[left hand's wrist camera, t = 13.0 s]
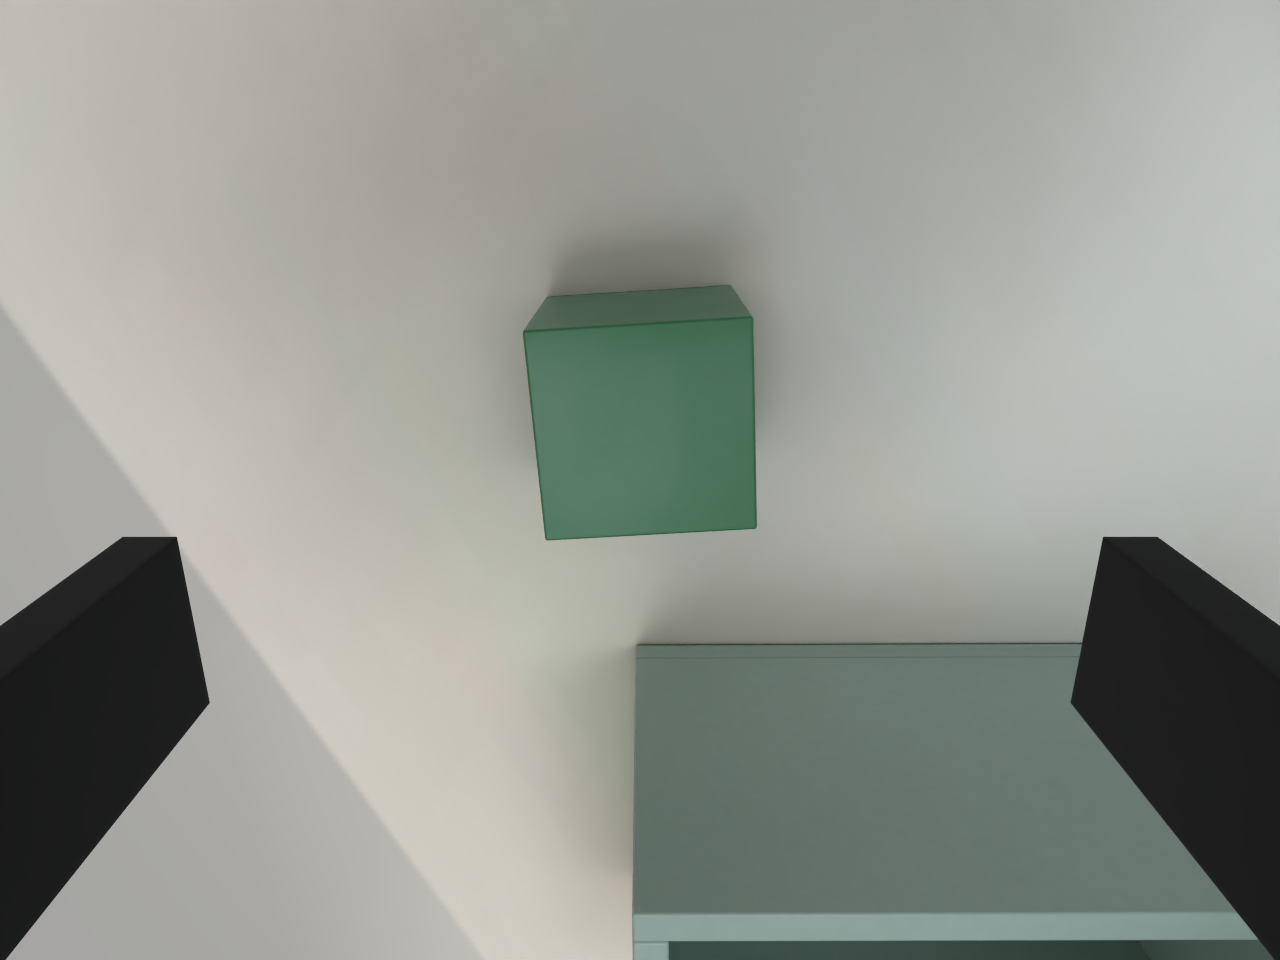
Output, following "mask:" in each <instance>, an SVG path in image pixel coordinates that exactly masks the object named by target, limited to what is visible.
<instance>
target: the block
mask: <svg viewBox="0 0 1280 960" xmlns="http://www.w3.org/2000/svg"><path fill="white" fill-rule="evenodd" d="M523 339H524V348H525V357H526V366H527V375H528V384H529V394H530V403H531V412H532V421H533V430H534V439H535V448H536V458H537V467H538V476H539V485H540V494H541V503H542V513H543V522H544V531H545V539H546V540H562V539H580V538H598V537H616V536H634V535H651V534H669V533H687V532H705V531H723V530H741V529H755V528H756V527H757V509H756V453H755V398H754V342H753V317H752V316H751V314H750V313H749V311H748V310H747V308H746V307H745V306H744V304H743V303H742V301H741V300H740V298H739V297H738V295H737V294H736V292H735V291H734V290H733V288H732V287H731V286H730V285H727V286H711V287H695V288H679V289H663V290H647V291H631V292H615V293H600V294H584V295H568V296H552V297H547V298H546V299H545V301H544V302H543V304H542V305H541V306H540V308H539V309H538V311H537V312H536V314H535V315H534V317H533V318H532V319H531V321H530V322H529V324H528V325H527V327H526V328H525V329H524V331H523Z"/></svg>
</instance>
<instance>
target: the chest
mask: <svg viewBox="0 0 1280 960" xmlns="http://www.w3.org/2000/svg"><path fill="white" fill-rule="evenodd" d="M1081 647H1082V644H921V645H642V646H636V661H635V741H634V821H633V901H632V930H633V960H1274V959H1273V957H1272V956H1271V955H1270V953H1269V952H1268V951H1267V950H1266V948H1265V947H1264V946H1263V945H1262V943H1261V942H1260V941H1259V940H1258V938H1257V937H1256V936H1255V935H1254V933H1253V932H1252V931H1251V930H1250V928H1249V927H1248V926H1247V925H1246V923H1245V922H1244V921H1243V919H1242V918H1241V917H1240V916H1239V914H1238V913H1237V912H1236V911H1235V909H1234V908H1233V907H1232V906H1231V904H1230V903H1229V902H1228V901H1227V899H1226V898H1225V897H1224V896H1223V894H1222V893H1221V892H1220V891H1219V889H1218V888H1217V887H1216V885H1215V884H1214V883H1213V882H1212V880H1211V879H1210V878H1209V877H1208V875H1207V874H1206V873H1205V872H1204V870H1203V869H1202V868H1201V867H1200V865H1199V864H1198V863H1197V862H1196V860H1195V859H1194V858H1193V857H1192V855H1191V854H1190V853H1189V851H1188V850H1187V849H1186V848H1185V846H1184V845H1183V844H1182V843H1181V841H1180V840H1179V839H1178V838H1177V836H1176V835H1175V834H1174V833H1173V831H1172V830H1171V829H1170V828H1169V826H1168V825H1167V824H1166V823H1165V821H1164V820H1163V819H1162V818H1161V816H1160V815H1159V814H1158V812H1157V811H1156V810H1155V809H1154V807H1153V806H1152V805H1151V804H1150V802H1149V801H1148V800H1147V799H1146V797H1145V796H1144V795H1143V794H1142V792H1141V791H1140V790H1139V789H1138V787H1137V786H1136V785H1135V784H1134V782H1133V781H1132V780H1131V778H1130V777H1129V776H1128V775H1127V773H1126V772H1125V771H1124V770H1123V768H1122V767H1121V766H1120V765H1119V763H1118V762H1117V761H1116V760H1115V758H1114V757H1113V756H1112V755H1111V753H1110V752H1109V751H1108V750H1107V748H1106V747H1105V746H1104V744H1103V743H1102V742H1101V741H1100V739H1099V738H1098V737H1097V736H1096V734H1095V733H1094V732H1093V731H1092V729H1091V728H1090V727H1089V726H1088V724H1087V723H1086V722H1085V721H1084V719H1083V718H1082V717H1081V716H1080V714H1079V713H1078V712H1077V711H1076V709H1075V708H1074V707H1073V705H1072V704H1071V703H1070V702H1071V697H1072V692H1073V687H1074V682H1075V677H1076V672H1077V667H1078V662H1079V657H1080V652H1081Z"/></svg>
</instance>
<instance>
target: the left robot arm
mask: <svg viewBox="0 0 1280 960" xmlns="http://www.w3.org/2000/svg"><path fill="white" fill-rule="evenodd" d="M209 703H210V702H209V697H208V692H207V687H206V682H205V677H204V672H203V667H202V662H201V657H200V652H199V647H198V642H197V637H196V632H195V627H194V622H193V616H192V611H191V606H190V601H189V596H188V591H187V586H186V581H185V576H184V571H183V566H182V561H181V556H180V551H179V546H178V541H177V537H122V538H121V539H119V540H118V541H116V542H115V543H114V544H112V545H111V546H110V547H108V548H107V549H106V550H104V551H103V552H101V553H100V554H99V555H97V556H96V557H95V558H93V559H92V560H90V561H89V562H88V563H86V564H85V565H83V566H82V567H81V568H79V569H78V570H77V571H75V572H74V573H72V574H71V575H70V576H68V577H67V578H66V579H64V580H63V581H62V582H60V583H59V584H57V585H56V586H55V587H53V588H52V589H50V590H49V591H48V592H46V593H45V594H44V595H42V596H41V597H40V598H38V599H37V600H35V601H34V602H33V603H31V604H30V605H28V606H27V607H26V608H24V609H23V610H22V611H20V612H19V613H17V614H16V615H15V616H13V617H12V618H11V619H9V620H8V621H6V622H5V623H4V624H2V625H1V626H0V960H6V959H7V957H8V956H9V955H10V953H11V952H12V951H13V950H14V948H15V947H16V946H17V945H18V943H19V942H20V941H21V940H22V938H23V937H24V936H25V935H26V933H27V932H28V931H29V929H30V928H31V927H32V926H33V925H34V923H35V922H36V921H37V919H38V918H39V917H40V916H41V914H42V913H43V912H44V911H45V909H46V908H47V907H48V906H49V904H50V903H51V902H52V901H53V899H54V898H55V897H56V896H57V894H58V893H59V892H60V891H61V889H62V888H63V887H64V885H65V884H66V883H67V882H68V880H69V879H70V878H71V877H72V875H73V874H74V873H75V872H76V870H77V869H78V868H79V867H80V865H81V864H82V863H83V862H84V860H85V859H86V858H87V856H88V855H89V854H90V853H91V851H92V850H93V849H94V848H95V846H96V845H97V844H98V843H99V841H100V840H101V839H102V838H103V836H104V835H105V834H106V833H107V831H108V830H109V829H110V828H111V826H112V825H113V824H114V823H115V821H116V820H117V819H118V818H119V816H120V815H121V814H122V812H123V811H124V810H125V809H126V807H127V806H128V805H129V804H130V802H131V801H132V800H133V799H134V797H135V796H136V795H137V794H138V792H139V791H140V790H141V789H142V787H143V786H144V785H145V784H146V782H147V781H148V780H149V778H150V777H151V776H152V775H153V773H154V772H155V771H156V770H157V768H158V767H159V766H160V764H161V763H162V762H163V761H164V760H165V758H166V757H167V756H168V755H169V753H170V752H171V751H172V750H173V748H174V747H175V746H176V744H177V743H178V742H179V741H180V739H181V738H182V737H183V736H184V734H185V733H186V732H187V731H188V729H189V728H190V727H191V726H192V724H193V723H194V722H195V720H196V719H197V718H198V717H199V715H200V714H201V713H202V712H203V710H204V709H205V708H206V707H207V705H208V704H209ZM1070 703H1071V704H1072V705H1073V707H1074V708H1075V709H1076V711H1077V712H1078V713H1079V714H1080V716H1081V717H1082V718H1083V719H1084V721H1085V722H1086V723H1087V724H1088V726H1089V727H1090V728H1091V729H1092V731H1093V732H1094V733H1095V734H1096V736H1097V737H1098V738H1099V739H1100V741H1101V742H1102V743H1103V744H1104V746H1105V747H1106V748H1107V750H1108V751H1109V752H1110V753H1111V755H1112V756H1113V757H1114V758H1115V760H1116V761H1117V762H1118V763H1119V765H1120V766H1121V767H1122V768H1123V770H1124V771H1125V772H1126V773H1127V775H1128V776H1129V777H1130V778H1131V780H1132V781H1133V782H1134V784H1135V785H1136V786H1137V787H1138V789H1139V790H1140V791H1141V792H1142V794H1143V795H1144V796H1145V797H1146V799H1147V800H1148V801H1149V802H1150V804H1151V805H1152V806H1153V807H1154V809H1155V810H1156V811H1157V812H1158V814H1159V815H1160V816H1161V818H1162V819H1163V820H1164V821H1165V823H1166V824H1167V825H1168V826H1169V828H1170V829H1171V830H1172V831H1173V833H1174V834H1175V835H1176V836H1177V838H1178V839H1179V840H1180V841H1181V843H1182V844H1183V845H1184V846H1185V848H1186V849H1187V850H1188V851H1189V853H1190V854H1191V855H1192V857H1193V858H1194V859H1195V860H1196V862H1197V863H1198V864H1199V865H1200V867H1201V868H1202V869H1203V870H1204V872H1205V873H1206V874H1207V875H1208V877H1209V878H1210V879H1211V880H1212V882H1213V883H1214V884H1215V885H1216V887H1217V888H1218V889H1219V891H1220V892H1221V893H1222V894H1223V896H1224V897H1225V898H1226V899H1227V901H1228V902H1229V903H1230V904H1231V906H1232V907H1233V908H1234V909H1235V911H1236V912H1237V913H1238V914H1239V916H1240V917H1241V918H1242V919H1243V921H1244V922H1245V923H1246V925H1247V926H1248V927H1249V928H1250V930H1251V931H1252V932H1253V933H1254V935H1255V936H1256V937H1257V938H1258V940H1259V941H1260V942H1261V943H1262V945H1263V946H1264V947H1265V948H1266V950H1267V951H1268V952H1269V953H1270V955H1271V956H1272V957H1273V959H1274V960H1280V626H1279V625H1278V624H1276V623H1275V622H1274V621H1272V620H1271V619H1269V618H1268V617H1267V616H1265V615H1264V614H1263V613H1261V612H1260V611H1258V610H1257V609H1256V608H1254V607H1253V606H1252V605H1250V604H1249V603H1247V602H1246V601H1245V600H1243V599H1242V598H1241V597H1239V596H1238V595H1236V594H1235V593H1234V592H1232V591H1231V590H1230V589H1228V588H1227V587H1225V586H1224V585H1223V584H1221V583H1220V582H1219V581H1217V580H1216V579H1214V578H1213V577H1212V576H1210V575H1209V574H1208V573H1206V572H1205V571H1203V570H1202V569H1201V568H1199V567H1198V566H1197V565H1195V564H1194V563H1192V562H1191V561H1190V560H1188V559H1187V558H1186V557H1184V556H1183V555H1181V554H1180V553H1179V552H1177V551H1176V550H1175V549H1173V548H1172V547H1170V546H1169V545H1168V544H1166V543H1165V542H1164V541H1162V540H1161V539H1159V538H1158V537H1103V541H1102V546H1101V551H1100V556H1099V561H1098V566H1097V571H1096V576H1095V581H1094V586H1093V591H1092V596H1091V601H1090V606H1089V611H1088V616H1087V621H1086V627H1085V632H1084V637H1083V642H1082V647H1081V652H1080V657H1079V662H1078V667H1077V672H1076V677H1075V682H1074V687H1073V692H1072V697H1071V702H1070Z"/></svg>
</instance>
